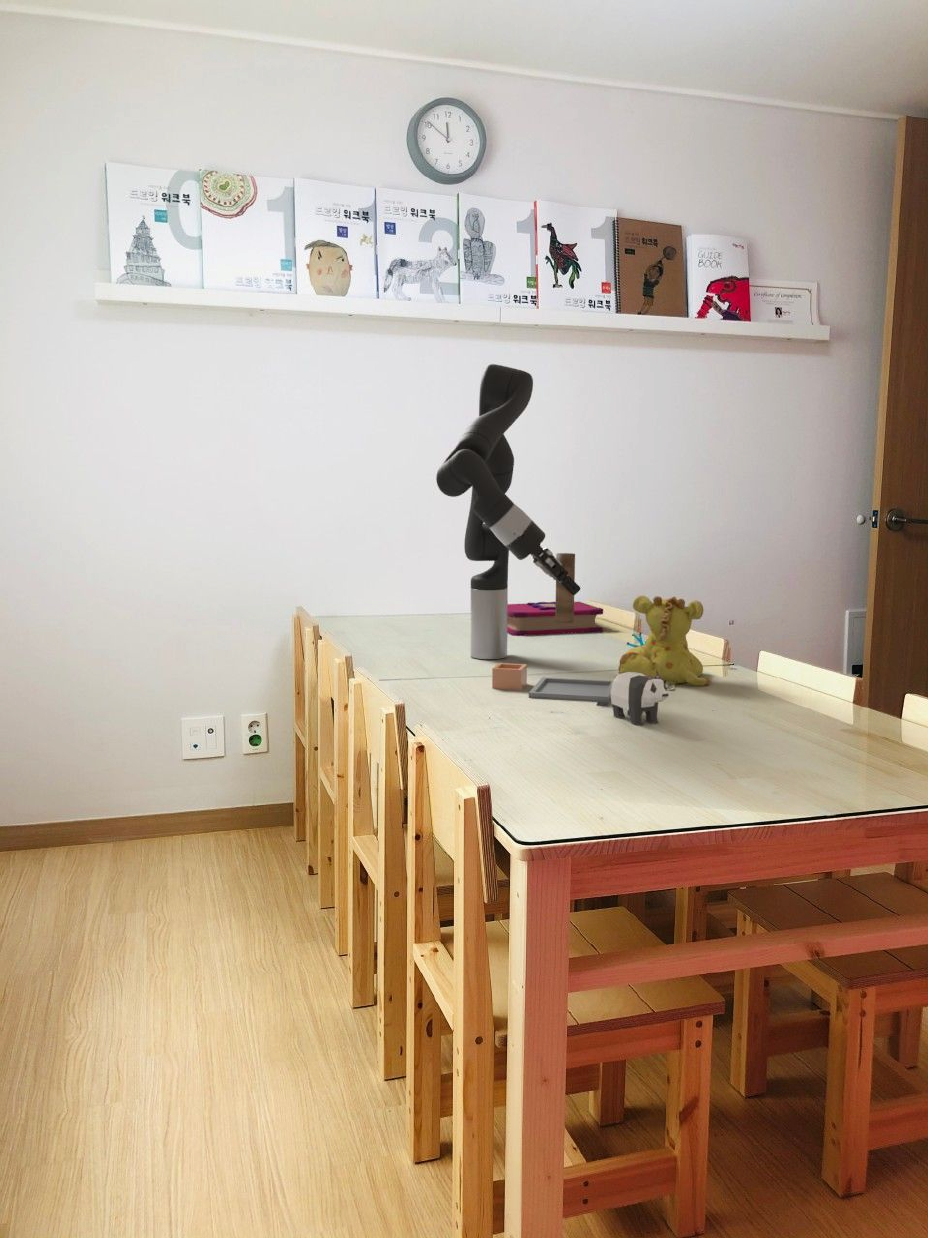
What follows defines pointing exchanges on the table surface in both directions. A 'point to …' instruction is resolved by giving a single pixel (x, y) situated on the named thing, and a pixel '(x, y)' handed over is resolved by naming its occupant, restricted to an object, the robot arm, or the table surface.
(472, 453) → the robot arm
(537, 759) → the table surface
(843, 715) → the table surface
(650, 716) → the giant panda
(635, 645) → the stick construction toy
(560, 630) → the book
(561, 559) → the dowel
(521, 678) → the pencil cup
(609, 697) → the tray
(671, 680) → the giraffe plush
